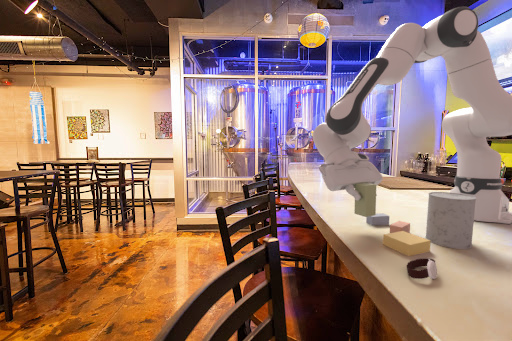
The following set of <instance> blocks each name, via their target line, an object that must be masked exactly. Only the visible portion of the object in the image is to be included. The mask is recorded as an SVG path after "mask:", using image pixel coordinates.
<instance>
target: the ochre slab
mask: <svg viewBox="0 0 512 341" xmlns="http://www.w3.org/2000/svg"><path fill="white" fill-rule="evenodd" d="M382 238H383V239H382V245H383V246H385V247H388V248H390V249H391V250H395V251H396V252H399V253H401V254H403V255H406V256H408V257H411V256H416V255H421V254H424V253H429V252H431V243H432V242H431V241H430V240H427V239H426V237H422V236H419V235H416V234H412V233H407V232H405V231H400V232H395V233H390V232H389V233H384V234H383V236H382Z"/></svg>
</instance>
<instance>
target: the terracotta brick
mask: <svg viewBox="0 0 512 341" xmlns="http://www.w3.org/2000/svg"><path fill="white" fill-rule="evenodd" d="M400 231H405V232H407V233H410V232H411V223H410V222H406V221H401V220H397V221H396V222H394V223H391V224H389V233H395V232H400ZM410 234H411V233H410Z"/></svg>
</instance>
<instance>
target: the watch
mask: <svg viewBox="0 0 512 341" xmlns="http://www.w3.org/2000/svg"><path fill="white" fill-rule="evenodd" d="M421 267H426V268H424V269H416V268H421ZM406 271H407V275H408V277H410V278H412V279H417V280H420V279H426V278H427V279H428V278H430V279H432V280H433V279H434V280H435V279H437V277H438V267H437V262H436V260H435V259H434V258H427V257H425V258H418V259H414V260H411V261H409V262H407V264H406Z"/></svg>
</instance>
